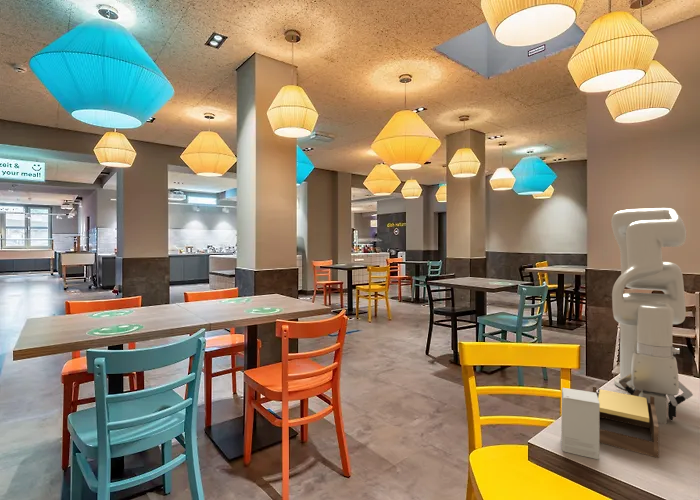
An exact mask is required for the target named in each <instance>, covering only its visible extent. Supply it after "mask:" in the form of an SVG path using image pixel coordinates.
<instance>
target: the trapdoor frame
mask: <svg viewBox="0 0 700 500" xmlns="http://www.w3.org/2000/svg"><path fill="white" fill-rule="evenodd" d="M592 392H594V393H597V396H598V397H599V392H598V390H597V385H592ZM647 406H648V413H649V422H645V421H640V420H636V419H631V418H626V417H622V416H617V415H613V414H608V413H603V412H599V418H602V419H607V420H610V421H615V422H620V423H624V424H629V425H632V426H637V427H642V428H645V429H646V428H647V429H649V432H650V433H649V434H650V438H651V440H647V439H643V438H638V437H635V436H631V435H627V434H623V433H619V432H618V433H617V432H616V431H615V432H614V431H610V430H606V429H601V428H599V444H604V445H608V446H612V447H616V448H620V449H623V450H627V451H630V452H634V453H639V454H641V455H646V456H650V457H653V458H657V459H658V458H659V452H660V451H659V443H660V442H659V440H660V438H659V437H660V436H659V435H660V434H659V433H660V431H659V427H660V426H659V422H658V420H657V415H656V410H655V405H654V397H652V396H650V403H649V402H647Z"/></svg>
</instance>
